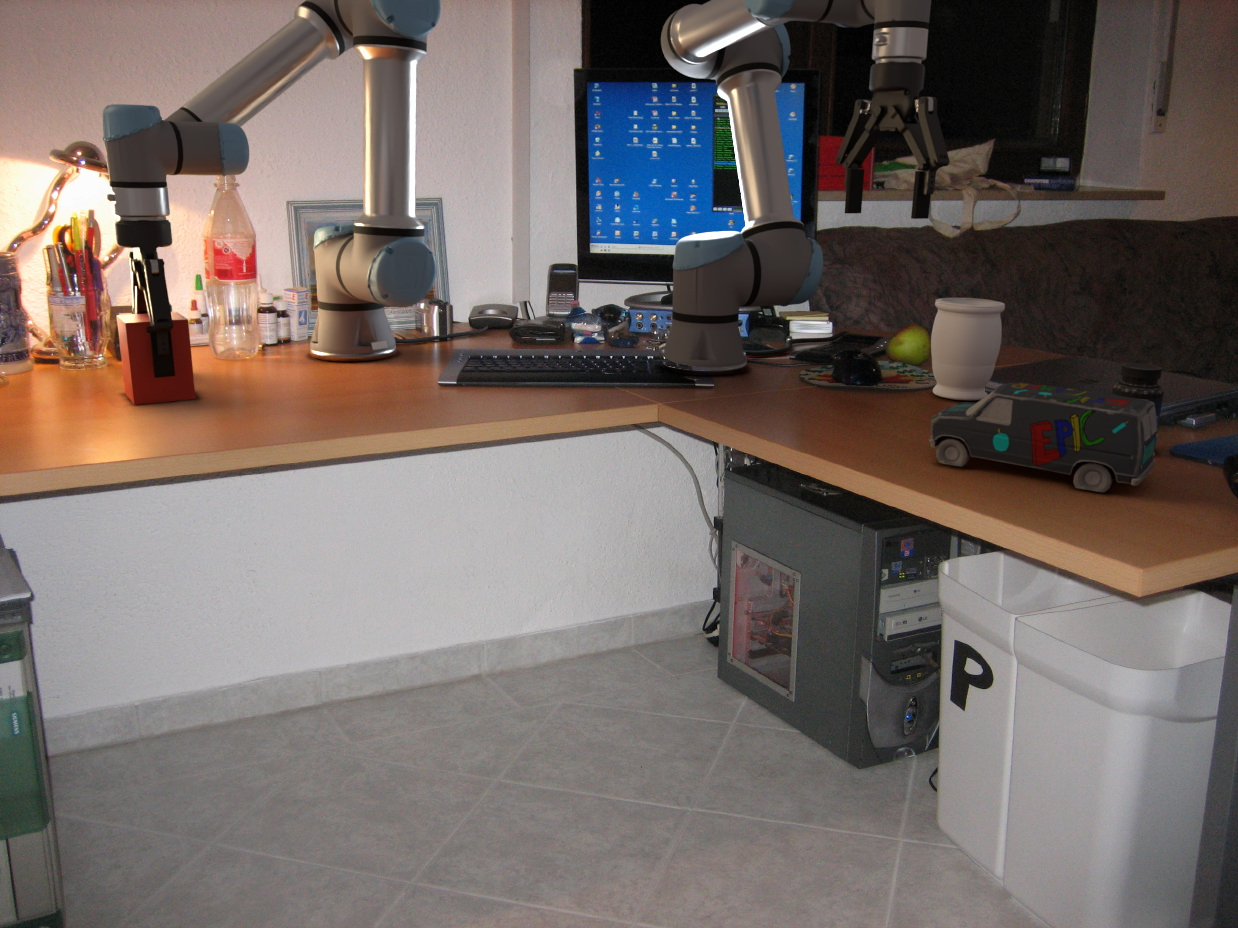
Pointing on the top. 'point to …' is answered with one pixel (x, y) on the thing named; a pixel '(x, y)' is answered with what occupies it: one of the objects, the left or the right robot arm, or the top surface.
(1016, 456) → the toy van
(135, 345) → the brick
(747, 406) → the top surface
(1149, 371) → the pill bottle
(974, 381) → the jar
